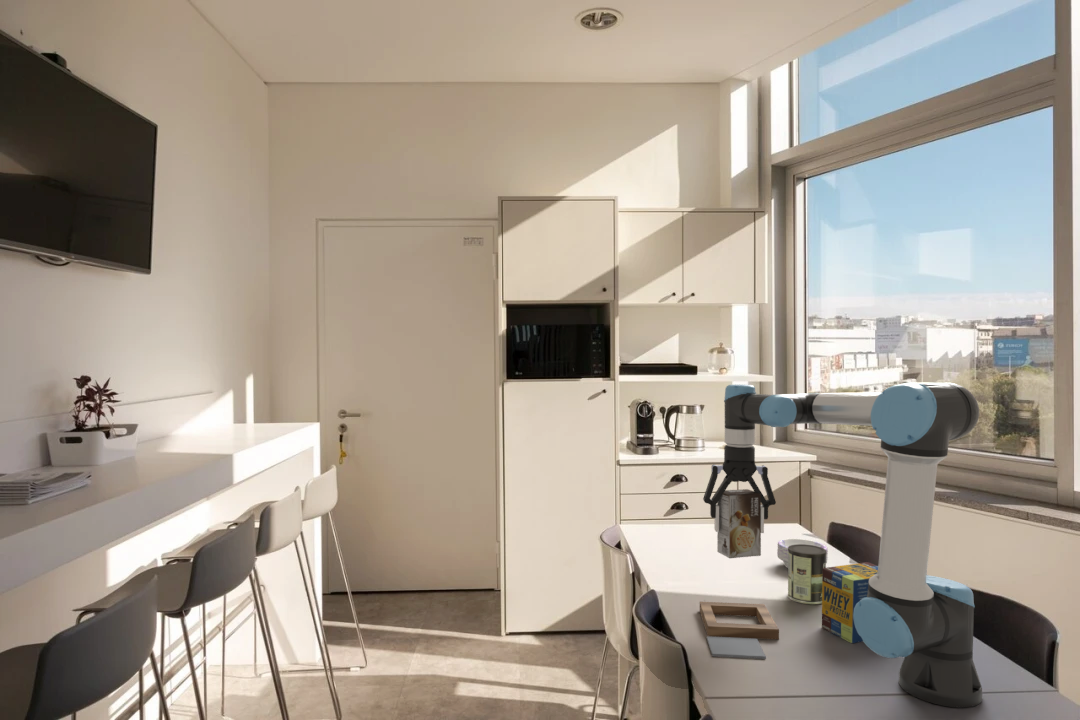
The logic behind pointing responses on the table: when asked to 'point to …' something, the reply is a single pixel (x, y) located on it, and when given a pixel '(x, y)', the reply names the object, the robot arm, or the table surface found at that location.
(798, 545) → the coffee can
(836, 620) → the protein box
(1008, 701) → the table surface
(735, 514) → the coffee box
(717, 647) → the rubber mat
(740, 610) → the pocket block
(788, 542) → the paper bowls
